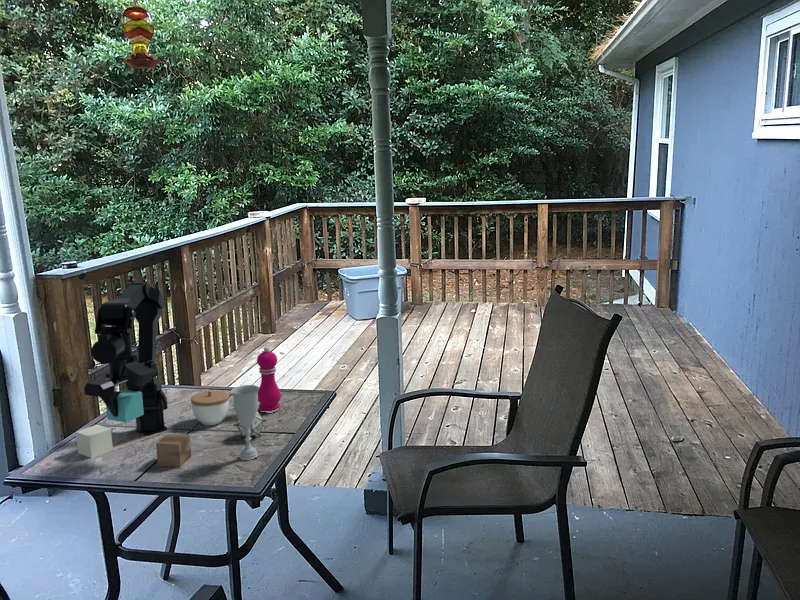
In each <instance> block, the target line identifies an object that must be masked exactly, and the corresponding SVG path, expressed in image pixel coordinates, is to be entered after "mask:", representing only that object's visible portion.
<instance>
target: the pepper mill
mask: <svg viewBox="0 0 800 600" xmlns="http://www.w3.org/2000/svg"><path fill="white" fill-rule="evenodd" d="M277 363H278V357H277V355H276V353H275V352H273V351H271V350H270V348H269V347H268V346H265V347H264V348H263V351H262V352H261V353H259V354H258V356H257V360H256V364H257V365H258V366H259V369H258V370H259V371H258V372H259V374H260V376H261V378H260V379H261V381H260V384H259V386H258V387H259V390H258V403H259V404H258V411H259V410H260V411H272V410H275V409H277V408H279V407H280V408H281V404H280V402H279V401H280V400H281V399H282V395H281V394H282V393H281V390H280V387H279V386H278V384H277V382H276V379H275V378H276V377H275V375H276V373H277V367H276V365H277ZM260 411H259V412H260Z"/></svg>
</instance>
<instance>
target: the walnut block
mask: <svg viewBox="0 0 800 600" xmlns="http://www.w3.org/2000/svg"><path fill="white" fill-rule="evenodd" d="M191 445H192V444H191V436H190V434H177V433H176V434H175V433H167V434H166V435H164V436H163V437H162V438H160V439H159V440H158V441H157V442H156V443H155V446H156V447H155V448H156V459H157V466H159V467H173V468H174V467H175V468H181V467H182V466H183V465H184V464H185V463H186V462H187V461H189V460H190V459H191V458H192V448H191Z"/></svg>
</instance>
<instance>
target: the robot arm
mask: <svg viewBox="0 0 800 600" xmlns="http://www.w3.org/2000/svg"><path fill="white" fill-rule="evenodd" d="M164 308H165V298H164V296H163V294H162V293H161V291H160V289H157V288H154V287H152V286H151V285H150V283H149V282H146V281H136V282H133V281H132V282H130V283H128V284H127V288H125V289H124V290H123V291H122V292H121V293H120V294H119V295H118V297H117V298H115V299H111V300H107V301H105V302H103V303H101V305H100V307H99V308H98V310H97V314H96V315H97V316H96V319H95V321H96V322H95V326H94V327H95V328H94V335H98V334H99V335H98V340H97V341H95V343H93V345H92V347H91V349H90V353H91V356H92V359H93V360H95V361H96V362H97V363H99V364H103V365H106V364H107V365H108V372H106V373H105V378H106V379H107V378H108V379H109V380H106V379H99V378H97V379H95V380H92V381H88V382H87V383H86V384H84V386H83V390H84V392H83V393H84V395H86V396H89V397H90V396H91V397H96V398H100V399H101V400H102V401H103V403H104V404H105V406H107V407H108V409H109V410H110V412H111V413H112V415H113V416H114V417H117V416H118V402H117V397H118V395H119V394H120V392H119V391H120V390H117V386H119V385H122V384H126V385H125V386H126V388H127V389H126V390H132V391H139V392H142V399H143V410H144V415H142V416H139V417H137V418H135V423H136V428H135V431H137V432H139V433H141V434H142V435H144V436H150V435H153V434H156V433H161V432H163V431H166V430H168V427H167V426H166V425H165V419H164V411H165V410H168V407H169V406H168V403H169V402H168V397H167V396H166V394H165V392H164V391H163V389H162V383H161V381H160V380H159V379H158V375H159V374H158V368H157V360H156V359H157V358H156V357H157V355H156V354H157V323H158V321H160V319H161V318H162V316H163V309H164ZM135 321H137V323H138V334H137V335H138V338H137V339H138V340H137V341H138V344H137V347H138V348H137V350H138V351H137V353H138V354H133V343H132V333H131V330H132V329H133V327H134V322H135ZM137 355H138V356H137Z"/></svg>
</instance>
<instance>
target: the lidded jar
mask: <svg viewBox="0 0 800 600" xmlns="http://www.w3.org/2000/svg"><path fill="white" fill-rule="evenodd" d="M190 403H191V410H192V413H193V416H194V417H195V419H196V420H197V421H198V422H199V423H200V424H201V425H203V426H214V425H218V424H221V423H222V422H223V420H224V419H225V418H226V417H227V415H228V412H229V408H230V394H229V393H228V392H227V391H224V390H212V389H211V390H206V391H201V392H198V393H196V394H194V395H192V396H191V397H190Z"/></svg>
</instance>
